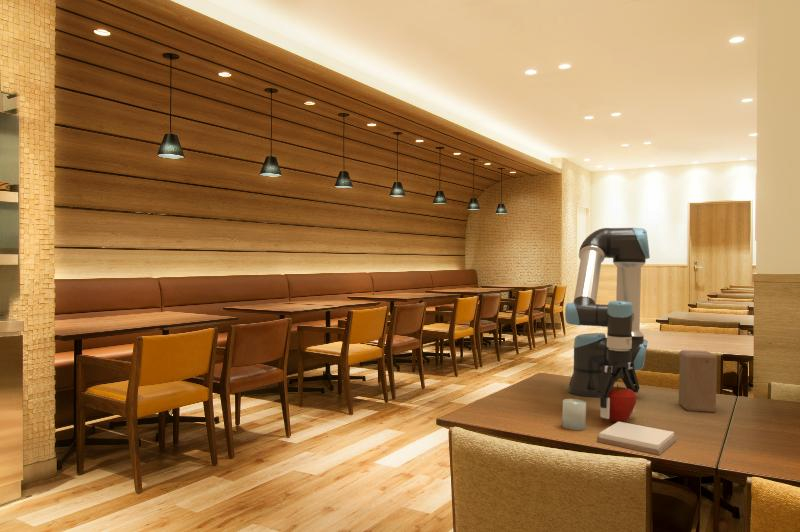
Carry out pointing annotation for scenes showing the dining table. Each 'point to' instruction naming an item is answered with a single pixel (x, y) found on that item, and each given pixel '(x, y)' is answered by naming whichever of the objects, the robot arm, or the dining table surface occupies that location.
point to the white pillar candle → (574, 414)
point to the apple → (621, 403)
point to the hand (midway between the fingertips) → (617, 414)
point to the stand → (637, 437)
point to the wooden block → (697, 380)
